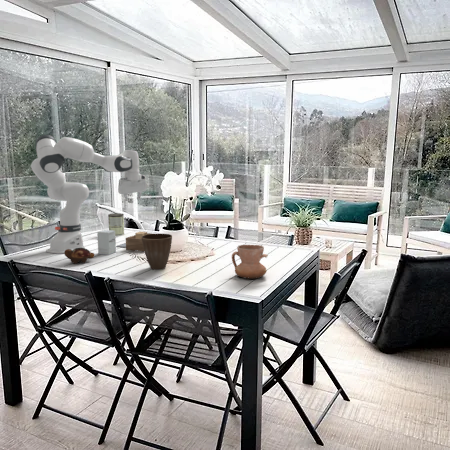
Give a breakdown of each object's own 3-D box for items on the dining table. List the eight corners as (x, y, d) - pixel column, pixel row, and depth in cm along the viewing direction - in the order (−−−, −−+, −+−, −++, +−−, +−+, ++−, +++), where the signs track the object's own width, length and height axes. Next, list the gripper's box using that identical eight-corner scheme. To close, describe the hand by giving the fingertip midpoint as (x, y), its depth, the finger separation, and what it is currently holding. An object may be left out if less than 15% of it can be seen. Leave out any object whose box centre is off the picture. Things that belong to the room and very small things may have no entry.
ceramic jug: (273, 275, 211) (273, 245, 209) (260, 282, 198) (260, 251, 196) (239, 270, 220) (239, 242, 218) (224, 277, 207) (224, 247, 205)
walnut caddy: (146, 251, 259) (146, 239, 257) (125, 249, 264) (125, 237, 263) (162, 245, 275) (162, 234, 274) (142, 243, 280) (142, 232, 279)
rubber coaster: (128, 248, 268) (128, 247, 268) (116, 246, 272) (116, 245, 272) (137, 245, 277) (137, 244, 276) (125, 243, 280) (125, 242, 280)
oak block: (142, 243, 267) (142, 233, 266) (135, 242, 268) (135, 233, 267) (147, 241, 271) (147, 232, 270) (140, 241, 273) (140, 231, 272)
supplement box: (109, 255, 251) (108, 232, 249) (97, 254, 254) (96, 231, 251) (116, 252, 258) (115, 230, 256) (105, 251, 260) (104, 229, 258)
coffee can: (106, 234, 311) (105, 214, 308) (120, 232, 317) (119, 212, 315) (113, 236, 303) (112, 215, 301) (127, 234, 309) (126, 214, 307)
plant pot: (144, 272, 215) (143, 239, 212) (140, 265, 229) (139, 234, 226) (175, 270, 219) (174, 238, 216) (170, 263, 233) (169, 232, 231)
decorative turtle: (61, 263, 233) (61, 247, 233) (89, 260, 243) (89, 245, 242) (68, 266, 226) (68, 250, 225) (97, 263, 236) (97, 247, 235)
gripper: (122, 178, 258) (123, 202, 260) (147, 176, 274) (148, 198, 277) (115, 178, 261) (116, 201, 263) (140, 175, 278) (141, 198, 280)
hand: (133, 200), depth 270 cm, fingers open, 8 cm apart
